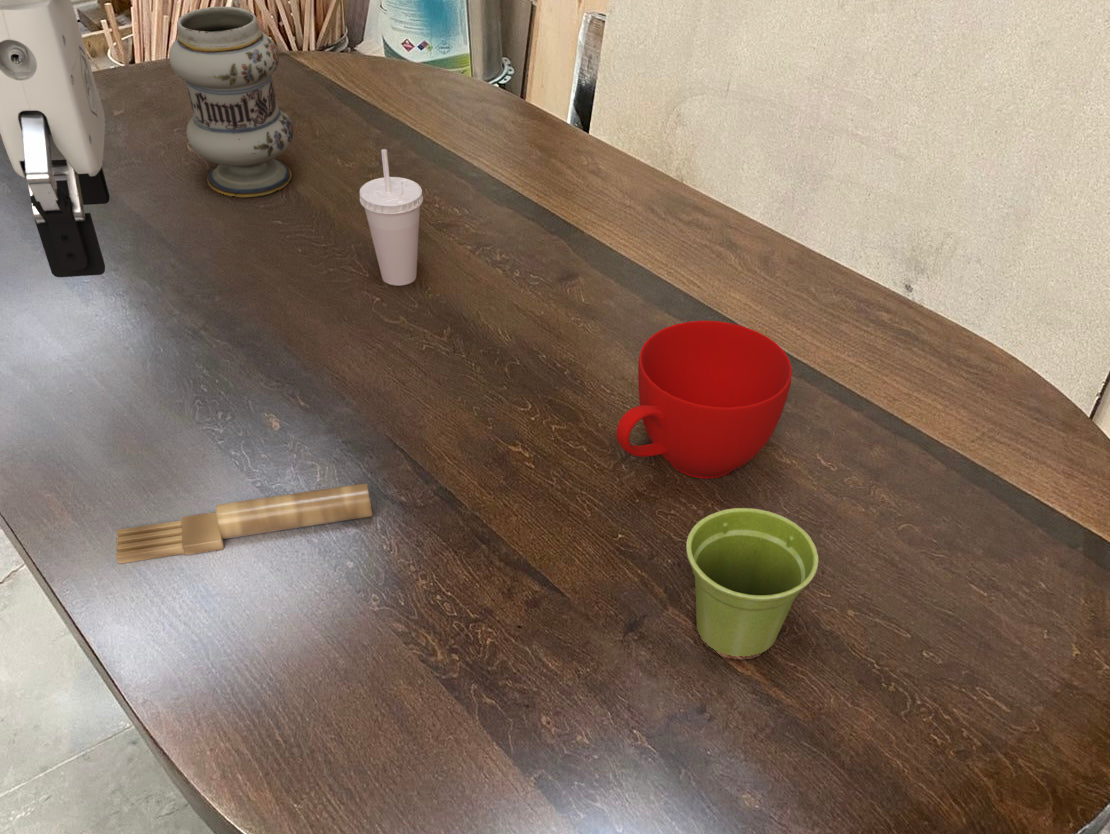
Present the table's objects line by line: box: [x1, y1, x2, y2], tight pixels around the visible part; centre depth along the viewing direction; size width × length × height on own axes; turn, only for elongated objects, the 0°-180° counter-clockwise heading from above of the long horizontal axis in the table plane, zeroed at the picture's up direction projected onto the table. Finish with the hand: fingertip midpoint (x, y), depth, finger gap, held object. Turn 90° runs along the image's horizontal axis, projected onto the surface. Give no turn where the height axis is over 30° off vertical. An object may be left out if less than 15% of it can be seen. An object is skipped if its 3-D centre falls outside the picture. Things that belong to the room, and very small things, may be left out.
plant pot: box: [685, 507, 819, 657], centre depth 79 cm, size 9×9×9 cm
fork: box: [115, 482, 373, 565], centre depth 86 cm, size 20×4×3 cm, turn 106°
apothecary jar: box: [168, 6, 294, 198], centre depth 123 cm, size 12×12×18 cm
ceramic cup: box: [616, 320, 793, 480], centre depth 92 cm, size 13×17×10 cm
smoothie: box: [359, 148, 424, 287], centre depth 110 cm, size 6×6×14 cm
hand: (83, 236), depth 73 cm, fingers open, 9 cm apart
